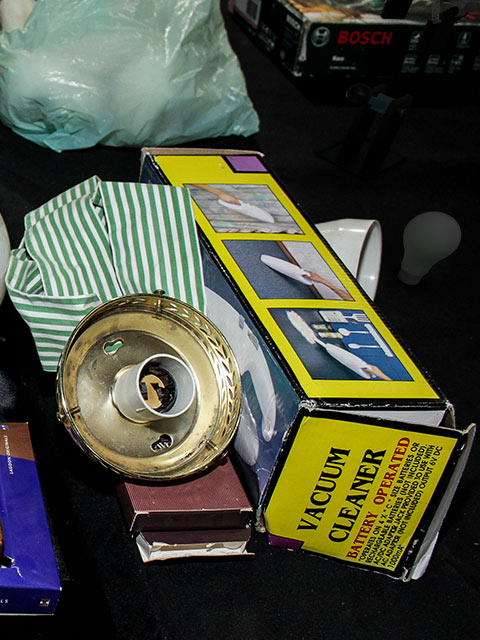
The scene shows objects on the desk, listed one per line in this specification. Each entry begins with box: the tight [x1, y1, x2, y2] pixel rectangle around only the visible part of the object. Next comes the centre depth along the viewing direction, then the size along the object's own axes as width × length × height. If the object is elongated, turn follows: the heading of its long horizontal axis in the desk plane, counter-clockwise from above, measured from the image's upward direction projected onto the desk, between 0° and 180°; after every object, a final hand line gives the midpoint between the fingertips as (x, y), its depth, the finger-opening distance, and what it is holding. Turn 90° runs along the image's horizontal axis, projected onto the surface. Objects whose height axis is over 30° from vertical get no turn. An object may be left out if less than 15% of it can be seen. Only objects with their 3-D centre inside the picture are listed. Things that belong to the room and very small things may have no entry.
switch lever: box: [345, 82, 396, 116], centre depth 125 cm, size 13×3×3 cm, turn 125°
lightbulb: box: [397, 211, 462, 286], centre depth 110 cm, size 6×6×11 cm
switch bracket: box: [318, 83, 415, 181], centre depth 131 cm, size 10×8×12 cm
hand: (409, 34), depth 114 cm, fingers open, 9 cm apart
